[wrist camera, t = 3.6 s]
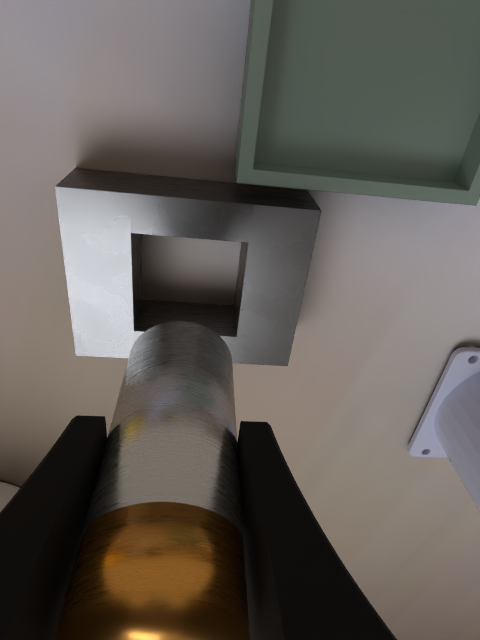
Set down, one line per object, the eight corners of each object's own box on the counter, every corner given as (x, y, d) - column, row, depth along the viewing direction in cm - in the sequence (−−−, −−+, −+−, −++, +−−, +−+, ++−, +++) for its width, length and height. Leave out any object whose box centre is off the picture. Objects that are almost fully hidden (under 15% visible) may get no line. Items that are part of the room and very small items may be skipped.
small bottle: (237, 324, 12) (261, 599, 6) (227, 403, 13) (239, 680, 8) (127, 318, 12) (40, 601, 6) (130, 399, 13) (65, 684, 7)
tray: (568, -113, 13) (617, -135, 11) (453, 191, 17) (476, 205, 16) (267, -169, 12) (276, -201, 10) (234, 170, 16) (236, 182, 15)
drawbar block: (307, 190, 17) (321, 210, 15) (279, 333, 21) (287, 365, 19) (75, 168, 16) (54, 186, 14) (90, 322, 20) (76, 355, 18)
